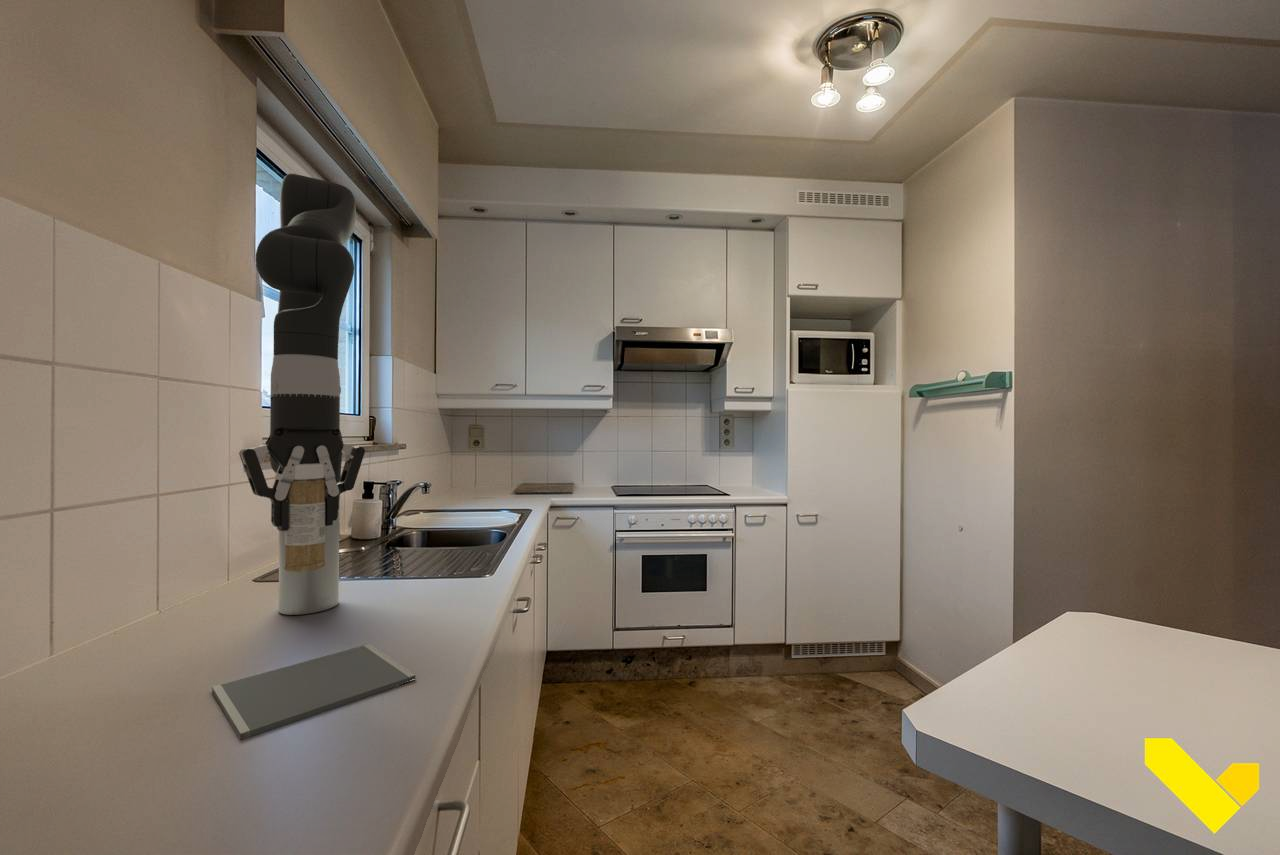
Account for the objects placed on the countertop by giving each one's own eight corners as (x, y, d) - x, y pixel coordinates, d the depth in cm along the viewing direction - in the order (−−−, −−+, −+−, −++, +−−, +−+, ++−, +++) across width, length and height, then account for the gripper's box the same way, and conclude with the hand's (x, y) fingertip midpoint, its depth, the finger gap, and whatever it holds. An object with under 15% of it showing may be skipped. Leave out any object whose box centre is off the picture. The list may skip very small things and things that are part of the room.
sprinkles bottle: (299, 564, 70) (300, 462, 70) (333, 564, 70) (334, 462, 70) (274, 573, 66) (275, 464, 66) (311, 573, 65) (311, 464, 66)
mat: (212, 692, 64) (212, 686, 64) (368, 648, 77) (369, 643, 77) (240, 739, 54) (240, 733, 54) (415, 680, 67) (415, 674, 67)
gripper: (355, 397, 76) (354, 518, 76) (231, 392, 66) (229, 531, 65) (375, 395, 71) (375, 524, 71) (244, 388, 60) (242, 539, 60)
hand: (305, 526), depth 68 cm, fingers closed on sprinkles bottle, 4 cm apart
